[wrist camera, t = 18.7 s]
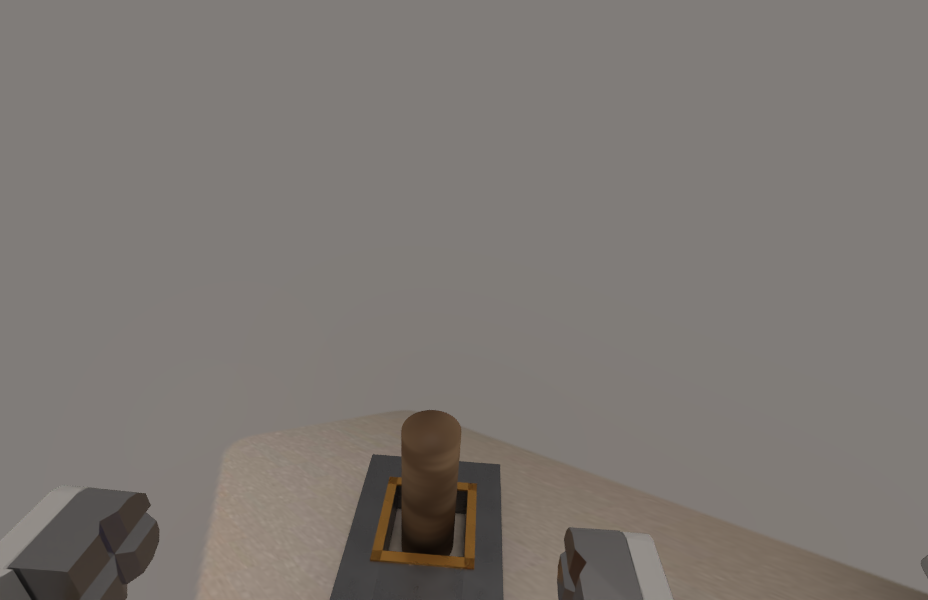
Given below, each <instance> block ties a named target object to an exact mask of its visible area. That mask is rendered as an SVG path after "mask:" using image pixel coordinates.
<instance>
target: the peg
mask: <svg viewBox="0 0 928 600" xmlns="http://www.w3.org/2000/svg"><path fill="white" fill-rule="evenodd" d="M401 437H402V550H403V552H406V553H418V554H430V555H442V556H449V555H450V553H451V551H452V548H453V537H454V524H455V510H456V497H457V483H458V469H459V456H460V442H461V427H460V424H459V423H458V421H457V420H456V419H455V418H454V417H453V416H451V415H449V414H447V413H444V412H442V411H436V410H427V411H421V412H418V413H415V414H413V415H411V416H410V417H409V418H408V419H406V421H405V422H404V424H403V426H402V432H401Z"/></svg>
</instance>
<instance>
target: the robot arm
mask: <svg viewBox="0 0 928 600" xmlns="http://www.w3.org/2000/svg"><path fill="white" fill-rule="evenodd" d="M150 506H151V505H150V503H149V500H148V498H147V495H146V494H145V493H136V492H126V491H117V490H108V489H97V488H90V487H78V486H66V485H62V486H60V487H58V488H56V489H54V490H52V491H51V492H50V493H48V494H47V495H46V496H45V498H44V499H42V500H41V501H40V502H39V503H38V504H37V505H36V506H35V507H34V508H33V509H32V510H31V511H30V512H29V513H28V514H27V515H26V516H25V517H24V518H23V519H22V520H21V521H20V522H19V523H18V524H17V525H16V526H15V527H14V528H13V529H12V530H11V531H10V532H9V533H8V534H7V535H6V536H5V537H4V538H3V539H2V540H0V600H126V598H127V584H128V583H130V582H131V581H133V580H134V579H135V578H137V577H138V576H140V575H141V574H142V573H144V571H145V569H146V568H147V566H148V565H149V564H150V562H151V560H152V559H153V557H154V554H155V551H156V549H157V546H158V543H159V527H158V524H157V521H156V520H155V519H153V518H152V517H151V516H150V515H149V514H147V513H146V511H147V510H148V508H149V507H150ZM564 543H565V550H566V551H565V552H564V553H562V554H561V555H560V559H559V564H558V577H557V585H558V598H559V600H674V599H673V596H672V593H671V590H670V587H669V584H668V581H667V578H666V575H665V572H664V570H663V567H662V564H661V561H660V558H659V555H658V552H657V549H656V546H655V543H654V541H653V539H652V538H651V536H650V535H649V534H646V533H632V532H620V531H616V530H601V529H586V528H571V527H569V528H568V529H567V530H566V534H565V538H564ZM921 566H922V568H923V570H924V572H925V574H926V576H927V577H928V555H927V556H926V557H925V558H923V559H922V560H921Z"/></svg>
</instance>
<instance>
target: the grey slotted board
mask: <svg viewBox="0 0 928 600" xmlns="http://www.w3.org/2000/svg"><path fill="white" fill-rule="evenodd" d="M397 508H402V457H399V456H387V455H374V454H373V455H372V458H371V462H370V465H369V468H368V472H367V475H366V479H365V482H364V485H363V489H362V492H361V495H360V499H359V502H358V506H357V509H356V512H355V516H354V519H353V523H352V526H351V529H350V533H349V536H348V540H347V543H346V546H345V550H344V553H343V557H342V560H341V563H340V567H339V570H338V573H337V577H336V580H335V584H334V587H333V590H332V594H331V597H330V600H503V570H502V529H501V487H500V465H499V464H486V463H474V462H461V461H459V469H458V483H457V497H456V510H455V513H463V514H466V520H465V538H464V557H454V556H442V555H430V554H418V553H406V552H394V551H388V550H389V545H390V540H391V535H392V530H393V525H394V520H395V516H396V511H397Z"/></svg>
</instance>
